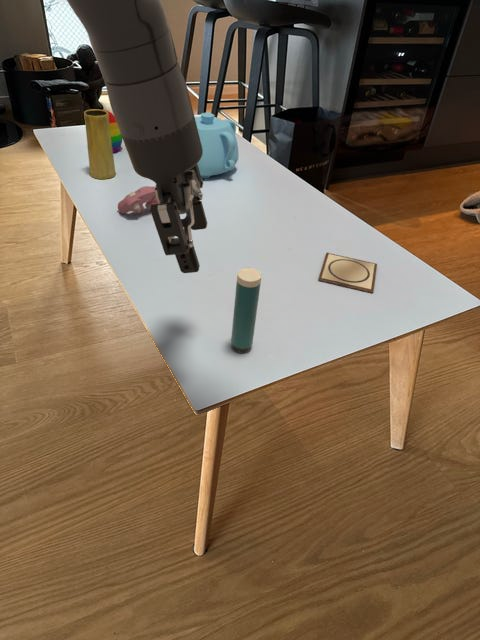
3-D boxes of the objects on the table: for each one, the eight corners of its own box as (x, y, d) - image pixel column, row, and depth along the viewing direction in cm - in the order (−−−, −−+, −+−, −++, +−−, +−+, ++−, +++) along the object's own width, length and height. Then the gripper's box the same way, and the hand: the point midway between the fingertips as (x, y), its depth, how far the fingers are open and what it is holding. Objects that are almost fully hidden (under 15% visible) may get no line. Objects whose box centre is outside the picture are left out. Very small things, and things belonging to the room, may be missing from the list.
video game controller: (125, 225, 98) (132, 203, 92) (114, 208, 99) (120, 185, 93) (164, 212, 103) (172, 191, 98) (153, 197, 104) (161, 175, 98)
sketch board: (376, 265, 90) (377, 263, 90) (372, 293, 83) (373, 291, 83) (326, 254, 92) (326, 251, 92) (317, 280, 85) (318, 278, 84)
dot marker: (254, 342, 70) (264, 270, 62) (248, 356, 68) (258, 283, 60) (234, 337, 71) (241, 265, 63) (227, 350, 69) (234, 277, 60)
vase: (101, 181, 109) (94, 118, 100) (84, 173, 112) (75, 111, 103) (121, 174, 113) (115, 113, 104) (104, 167, 116) (97, 106, 107)
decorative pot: (181, 154, 127) (181, 101, 118) (239, 161, 126) (243, 108, 118) (167, 177, 114) (166, 120, 106) (232, 185, 114) (236, 128, 105)
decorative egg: (101, 157, 121) (97, 117, 114) (86, 147, 125) (81, 108, 119) (129, 151, 125) (126, 112, 119) (113, 142, 130) (110, 104, 123)
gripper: (182, 147, 40) (220, 284, 52) (200, 84, 50) (229, 211, 62) (101, 159, 42) (156, 290, 53) (135, 95, 51) (175, 218, 63)
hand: (195, 248), depth 57 cm, fingers open, 8 cm apart
